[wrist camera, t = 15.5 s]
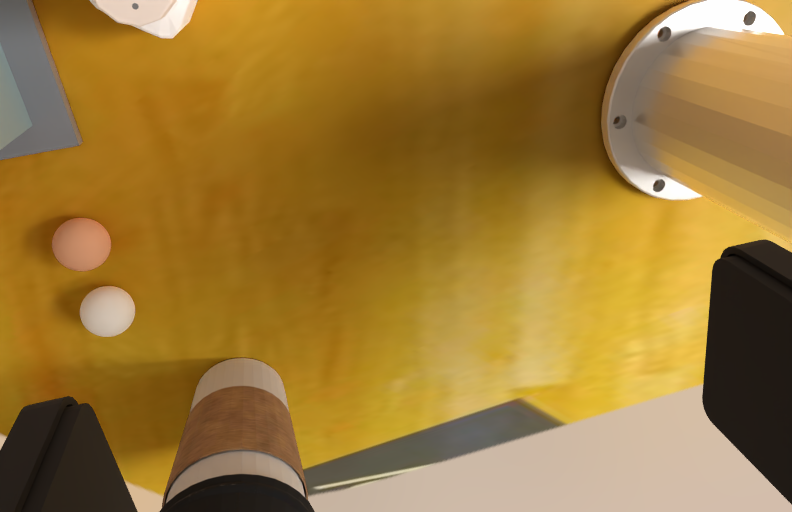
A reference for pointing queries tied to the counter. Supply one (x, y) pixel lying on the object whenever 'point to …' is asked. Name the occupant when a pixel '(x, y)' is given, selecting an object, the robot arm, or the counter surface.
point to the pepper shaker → (150, 14)
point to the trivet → (35, 83)
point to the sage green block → (10, 105)
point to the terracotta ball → (81, 244)
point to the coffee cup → (238, 446)
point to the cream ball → (107, 311)
